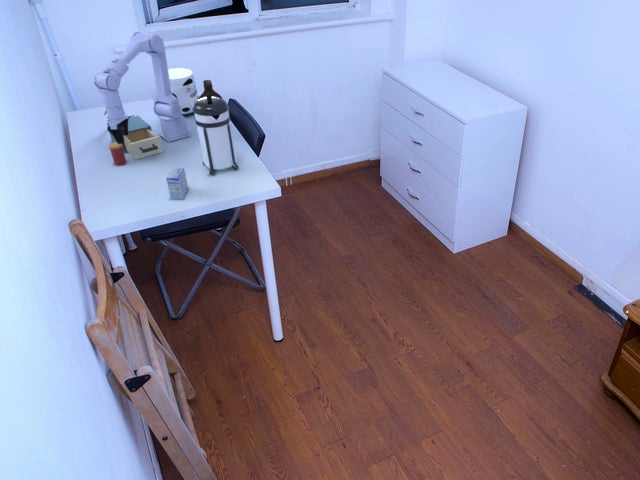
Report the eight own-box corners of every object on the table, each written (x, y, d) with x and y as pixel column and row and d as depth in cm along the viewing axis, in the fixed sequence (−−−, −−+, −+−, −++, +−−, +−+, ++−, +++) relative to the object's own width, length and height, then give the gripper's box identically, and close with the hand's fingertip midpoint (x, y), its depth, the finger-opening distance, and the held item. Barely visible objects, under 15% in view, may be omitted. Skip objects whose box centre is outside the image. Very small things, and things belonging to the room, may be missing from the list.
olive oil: (204, 133, 241) (194, 77, 227) (229, 131, 243) (221, 76, 229) (203, 143, 233) (192, 86, 218) (229, 142, 235) (220, 85, 220)
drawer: (167, 155, 221) (164, 140, 218) (138, 163, 215) (134, 148, 211) (151, 141, 231) (147, 126, 227) (122, 148, 225) (118, 133, 221)
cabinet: (155, 144, 231) (150, 125, 226) (123, 153, 224) (118, 134, 219) (142, 133, 239) (138, 115, 234) (112, 141, 231) (106, 123, 227)
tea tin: (116, 160, 218) (111, 141, 214) (128, 160, 219) (123, 141, 214) (112, 165, 215) (106, 147, 210) (124, 165, 215) (119, 147, 210)
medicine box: (176, 188, 203) (171, 167, 197) (188, 188, 203) (184, 167, 198) (170, 199, 196) (165, 178, 191) (183, 199, 197) (178, 178, 191)
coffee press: (249, 161, 222) (239, 88, 204) (226, 179, 209) (213, 103, 192) (212, 153, 226) (199, 82, 209) (188, 170, 214) (172, 96, 196)
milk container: (209, 111, 260) (202, 74, 250) (175, 121, 250) (166, 82, 239) (190, 101, 270) (183, 64, 259) (156, 110, 259) (147, 72, 249)
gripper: (121, 112, 198) (130, 147, 206) (129, 97, 209) (137, 130, 217) (100, 113, 196) (110, 148, 204) (109, 98, 208) (118, 131, 216)
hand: (123, 139), depth 211 cm, fingers open, 7 cm apart
